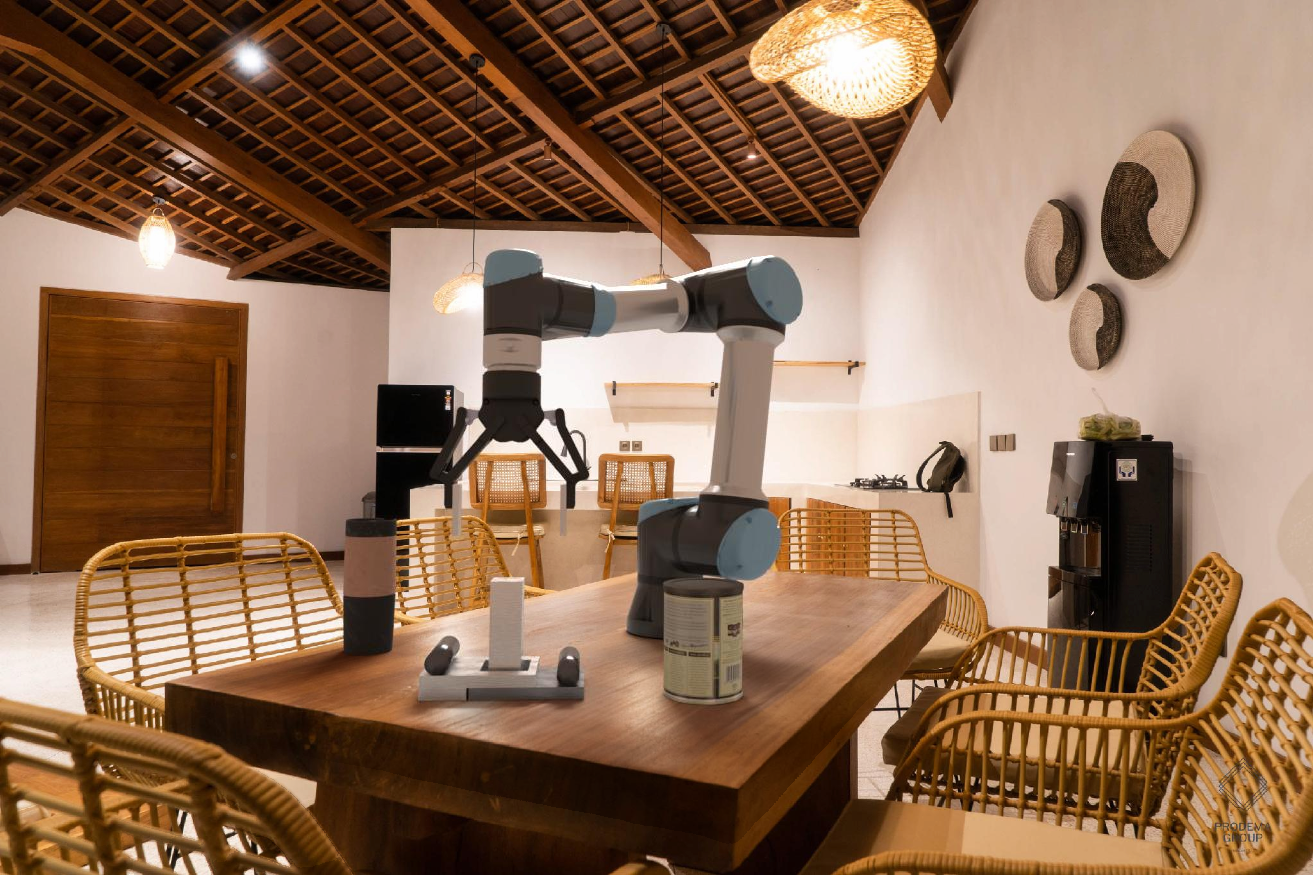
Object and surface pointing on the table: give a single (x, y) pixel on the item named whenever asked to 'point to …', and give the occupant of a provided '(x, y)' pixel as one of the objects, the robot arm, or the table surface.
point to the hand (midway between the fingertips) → (510, 535)
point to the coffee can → (703, 640)
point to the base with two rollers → (497, 677)
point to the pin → (506, 624)
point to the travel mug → (369, 585)
